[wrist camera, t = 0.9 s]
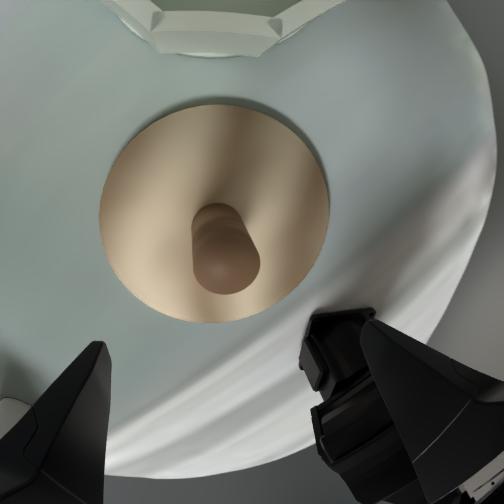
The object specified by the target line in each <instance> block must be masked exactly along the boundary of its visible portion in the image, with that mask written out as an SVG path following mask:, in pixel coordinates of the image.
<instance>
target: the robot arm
mask: <svg viewBox="0 0 504 504" xmlns="http://www.w3.org/2000/svg"><path fill="white" fill-rule="evenodd" d="M375 314H376V311H375V310H374V309H373V308H364V309H357V310H349V311H341V312H333V313H324V314H316V315H313V316H312V317H311V318H310V320H309V325H308V329H307V333H306V337H305V338H304V339H303V343H302V347H301V351H300V355H299V360H300V361H299V368H300V370H304V371H305V373H306V376H307V378H308V380H309V382H310V385H311V387H312V389H313V390H314V391H315V392H317V391H319V392H320V394H321V396H322V398H323V400H324V402H322V403H321V404H319V405H318V406H314V407H313V408H311V409H310V411H311V416H312V424H313V429H314V434H315V440H316V445H317V450H318V454H319V455H320V458H321V459H322V461H324V462H325V463H326V464H327V465H328V466H329V468H331V469H332V470H333V471H335V472H337V473H338V474H339V475H340V476H341V477H342V479H343V480H344V481H345V482H346V484H347V486H348V487H349V489H350V490H351V492H352V494H353V495H354V497H355V499H356V500H357V501H358V502H360V503H362V504H376V503H378V502H380V501H381V502H385V503H389V504H504V381H501V380H498V379H495V378H493V377H491V376H488V375H486V374H484V373H481V372H479V371H477V370H474V369H472V368H470V367H468V366H466V365H464V364H462V363H460V362H458V361H456V360H454V359H452V358H451V359H450V357H448V356H446V355H444V354H442V353H440V352H438V351H437V350H435V349H433V348H431V347H429V346H427V345H425V344H423V343H421V342H419V341H417V340H416V339H414V338H412V337H410V336H408V335H406V334H404V333H402V332H400V331H398V330H396V329H395V328H393V327H391V326H389V325H387V324H385V323H383V322H381V321H379V320H377V319H374V317H375ZM315 320H317V321H315ZM314 321H315V322H314ZM111 369H112V363H111V358H110V355H109V352H108V349H107V346H106V343H105V342H104V341H92V342H91V343H90V344H89V345H88V346H87V347H86V348H85V349H84V350H83V351H82V352H81V353H80V354H79V355H78V357H77V358H76V359H75V360H74V361H73V362H72V363H71V364H70V365H69V366H68V367H67V368H66V369H65V370H64V371H63V372H62V374H61V375H60V376H59V377H58V378H57V379H56V380H55V381H54V382H53V383H52V384H51V385H50V387H49V388H48V389H47V390H46V391H45V392H44V393H43V394H42V395H41V397H40V398H39V399H38V400H37V401H36V402H35V403H34V404H33V407H31V408H30V409H29V410H28V411H27V412H26V413H25V414H24V416H23V417H22V418H21V419H20V420H19V421H18V422H17V423H16V424H15V425H14V426H13V427H12V428H11V429H10V430H9V431H8V432H7V433H6V434H5V435H4V436H3V437H2V438H1V439H0V504H103V492H104V491H103V490H104V468H105V453H106V441H107V431H108V422H109V413H110V401H111ZM462 484H463V486H464V487H465V489H466V490H464V488H463V487H462Z"/></svg>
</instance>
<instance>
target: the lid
mask: <svg viewBox="0 0 504 504" xmlns="http://www.w3.org/2000/svg"><path fill="white" fill-rule="evenodd" d="M328 219H329V199H328V193H327V187H326V184H325V180H324V177H323V174H322V171H321V169H320V167H319V165H318V163H317V161H316V159H315V158H314V156H313V155H312V153H311V151H310V150H309V149H308V147H307V146H306V145H305V144H304V143H303V141H302V140H301V139H300V138H299V137H298V136H297V135H296V134H295V133H293V132H292V131H291V130H290V129H289V128H287V127H286V126H285V125H283V124H282V123H280V122H278V121H277V120H275V119H274V118H272V117H270V116H267V115H265V114H263V113H260V112H258V111H255V110H251V109H248V108H244V107H240V106H232V105H203V106H197V107H192V108H187V109H184V110H181V111H178V112H175V113H172V114H170V115H168V116H166V117H164V118H162V119H160V120H158V121H156V122H154V123H153V124H151V125H150V126H148V127H147V128H146V129H144V130H143V131H141V132H140V133H139V134H138V135H137V136H136V137H135V138H134V139H133V140H132V141H131V142H130V143H129V144H128V145H127V146H126V147H125V149H124V150H123V151H122V152H121V154H120V155H119V156H118V158H117V160H116V161H115V163H114V165H113V166H112V168H111V170H110V172H109V175H108V177H107V180H106V182H105V185H104V188H103V192H102V196H101V201H100V212H99V223H100V234H101V239H102V244H103V247H104V250H105V253H106V256H107V259H108V260H109V262H110V264H111V266H112V268H113V270H114V272H115V273H116V275H117V276H118V278H119V279H120V280H121V282H122V283H123V284H124V285H125V286H126V287H127V289H128V290H129V291H130V292H131V293H132V294H134V295H135V296H136V297H137V298H138V299H140V300H141V301H142V302H144V303H145V304H147V305H148V306H150V307H151V308H153V309H155V310H157V311H159V312H161V313H163V314H166V315H168V316H171V317H174V318H177V319H181V320H186V321H191V322H200V323H219V322H229V321H234V320H238V319H242V318H245V317H249V316H252V315H254V314H257V313H259V312H261V311H263V310H266V309H267V308H269V307H271V306H272V305H274V304H276V303H278V302H279V301H280V300H282V299H283V298H284V297H286V296H287V295H288V294H289V293H290V292H291V291H293V290H294V289H295V288H296V287H297V286H298V285H299V284H300V282H301V281H302V280H303V279H304V278H305V277H306V275H307V274H308V272H309V271H310V270H311V268H312V267H313V265H314V263H315V261H316V259H317V258H318V256H319V254H320V251H321V249H322V246H323V243H324V240H325V236H326V232H327V228H328Z"/></svg>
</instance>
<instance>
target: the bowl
mask: <svg viewBox="0 0 504 504" xmlns="http://www.w3.org/2000/svg"><path fill="white" fill-rule="evenodd" d="M101 1H102V3H103V4H104V5H106V6H107V7H108V8H109V9H111V10H112V11H113V12H114V13H115V14H116V15H118V16H119V17H120V19H121V20H122V22H123V23H124V24H125V25H126V26H127V27H128V28H129V29H130V30H131V31H132V32H133V33H134V34H135V35H137V36H138V37H139V38H141V39H142V40H144V41H146V42H147V43H149V44H150V45H152V46H153V47H154V48H155V49H156V50H157V51H158V52H159V53H160V54H163V53H175V54H178V55H184V56H189V57H196V58H230V57H239V56H253V57H259V56H260V55H261V54H263V53H264V52H266V51H267V50H268V49H270V48H271V47H273V46H275V45H277V44H279V43H281V42H282V41H284V40H286V39H288V38H289V37H291V36H292V35H294V34H295V33H296V32H298V31H299V30H300V29H302V28H303V27H304V26H305V25H306V24H308V23H310V22H311V21H313V20H315V19H316V18H318V17H320V16H322V15H323V14H325V13H327V12H328V11H330V10H332V9H333V8H335V7H337V6H338V5H340V4H342V3H344V2H345V1H347V0H101Z"/></svg>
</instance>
